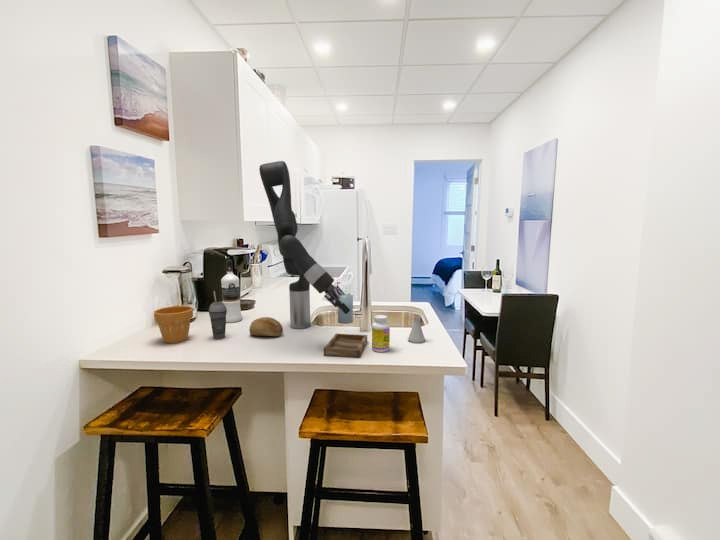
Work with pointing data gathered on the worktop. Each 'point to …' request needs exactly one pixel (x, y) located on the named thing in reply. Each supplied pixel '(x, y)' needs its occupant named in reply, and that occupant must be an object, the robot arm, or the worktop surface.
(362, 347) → the tray
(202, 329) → the worktop surface
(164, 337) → the flower pot
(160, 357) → the worktop surface
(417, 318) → the flask
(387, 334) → the supplement bottle
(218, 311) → the beverage cup
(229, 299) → the vodka
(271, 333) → the bread roll
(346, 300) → the blue rounded capsule
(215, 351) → the worktop surface
